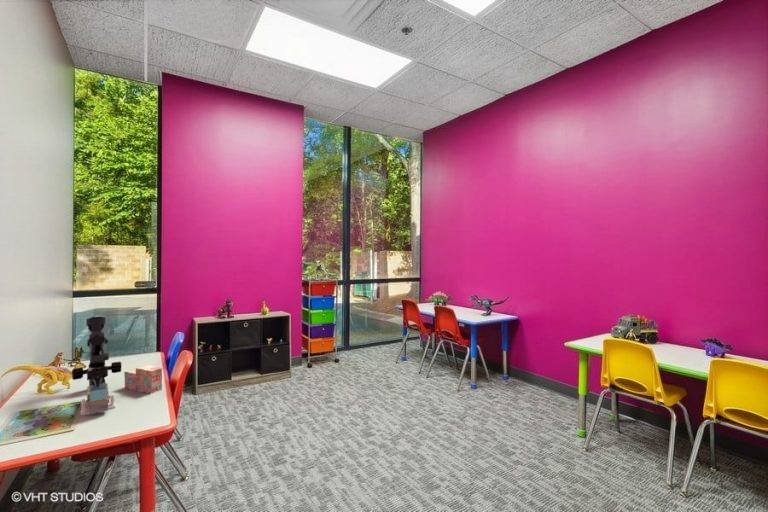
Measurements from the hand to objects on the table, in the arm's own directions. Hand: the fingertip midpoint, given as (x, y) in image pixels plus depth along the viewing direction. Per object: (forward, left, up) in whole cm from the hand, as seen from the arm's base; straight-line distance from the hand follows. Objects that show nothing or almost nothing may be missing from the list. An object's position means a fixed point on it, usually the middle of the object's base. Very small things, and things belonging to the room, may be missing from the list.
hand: (97, 385), depth 173 cm
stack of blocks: (+1, +29, -13) cm, 31 cm away
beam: (-4, +5, -10) cm, 12 cm away
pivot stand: (-2, +2, -12) cm, 13 cm away
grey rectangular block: (-2, +3, -3) cm, 4 cm away
